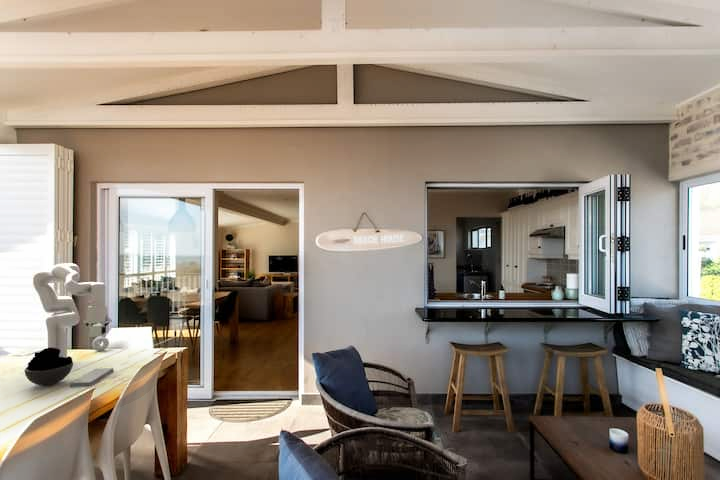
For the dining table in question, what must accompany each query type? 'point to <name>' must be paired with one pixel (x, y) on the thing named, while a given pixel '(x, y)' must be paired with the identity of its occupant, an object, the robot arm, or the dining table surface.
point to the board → (91, 377)
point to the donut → (98, 339)
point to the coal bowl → (48, 367)
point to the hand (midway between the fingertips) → (97, 333)
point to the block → (95, 331)
